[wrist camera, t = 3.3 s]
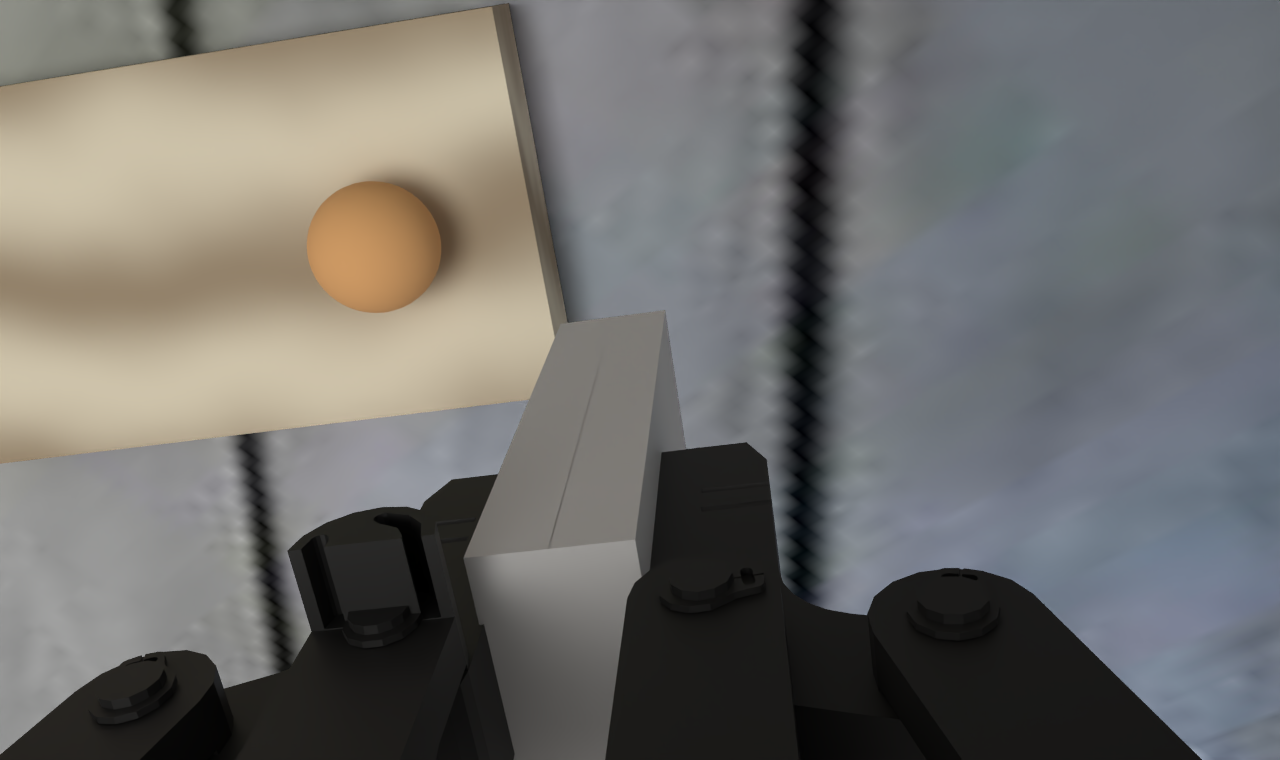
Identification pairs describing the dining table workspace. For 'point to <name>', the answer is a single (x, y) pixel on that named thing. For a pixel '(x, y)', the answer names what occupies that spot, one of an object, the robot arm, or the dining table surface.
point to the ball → (374, 247)
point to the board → (265, 238)
